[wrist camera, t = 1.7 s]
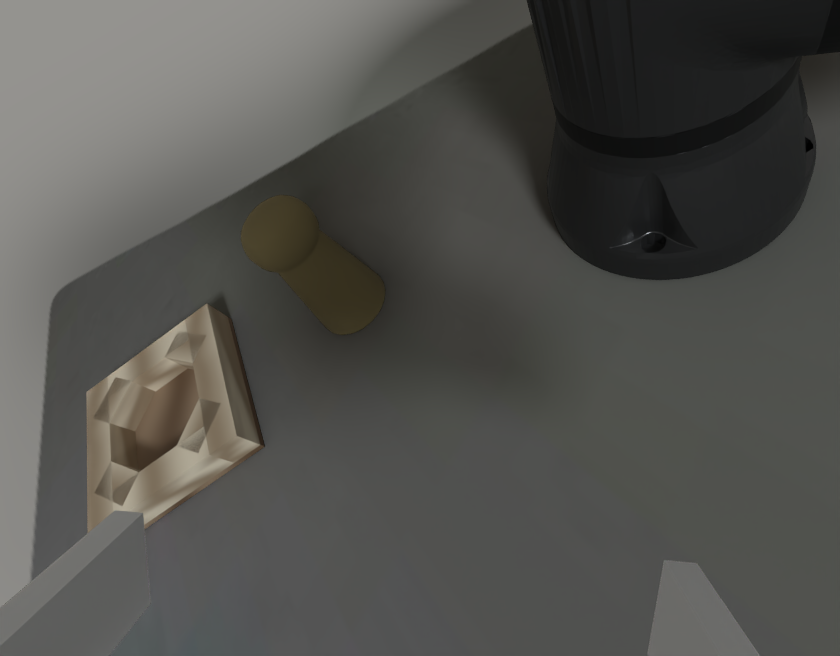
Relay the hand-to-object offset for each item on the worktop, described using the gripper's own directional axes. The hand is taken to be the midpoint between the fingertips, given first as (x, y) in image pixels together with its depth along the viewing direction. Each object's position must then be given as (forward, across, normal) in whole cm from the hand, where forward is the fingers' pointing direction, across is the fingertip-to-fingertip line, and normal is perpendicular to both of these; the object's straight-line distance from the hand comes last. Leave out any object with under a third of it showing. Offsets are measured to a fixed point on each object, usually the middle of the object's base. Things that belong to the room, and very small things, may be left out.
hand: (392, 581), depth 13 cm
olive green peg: (+29, -7, +2) cm, 30 cm away
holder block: (+27, -21, -9) cm, 36 cm away
